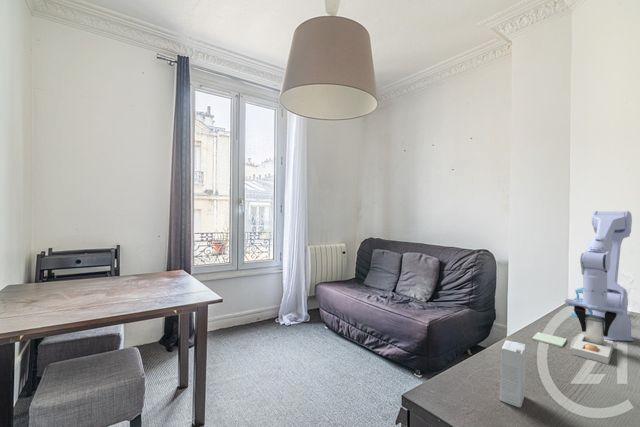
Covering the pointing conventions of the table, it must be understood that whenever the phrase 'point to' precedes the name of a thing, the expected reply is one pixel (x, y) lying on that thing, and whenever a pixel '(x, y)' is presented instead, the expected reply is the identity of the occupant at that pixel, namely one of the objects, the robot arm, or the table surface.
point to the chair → (581, 300)
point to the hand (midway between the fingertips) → (594, 333)
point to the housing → (601, 354)
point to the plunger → (591, 347)
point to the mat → (549, 339)
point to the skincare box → (513, 373)
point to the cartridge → (594, 329)
